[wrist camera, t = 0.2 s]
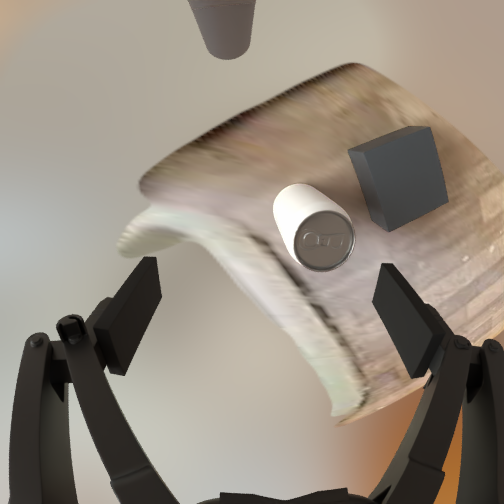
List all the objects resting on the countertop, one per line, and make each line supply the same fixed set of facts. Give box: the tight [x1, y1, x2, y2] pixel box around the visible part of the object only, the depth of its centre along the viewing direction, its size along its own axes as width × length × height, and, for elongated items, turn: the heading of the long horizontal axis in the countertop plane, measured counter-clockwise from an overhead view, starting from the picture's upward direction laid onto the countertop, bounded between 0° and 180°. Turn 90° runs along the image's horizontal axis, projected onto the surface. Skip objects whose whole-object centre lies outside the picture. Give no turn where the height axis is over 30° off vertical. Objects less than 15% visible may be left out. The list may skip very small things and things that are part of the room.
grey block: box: [348, 126, 449, 232], centre depth 32 cm, size 10×10×5 cm
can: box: [273, 183, 355, 272], centre depth 30 cm, size 6×6×12 cm
